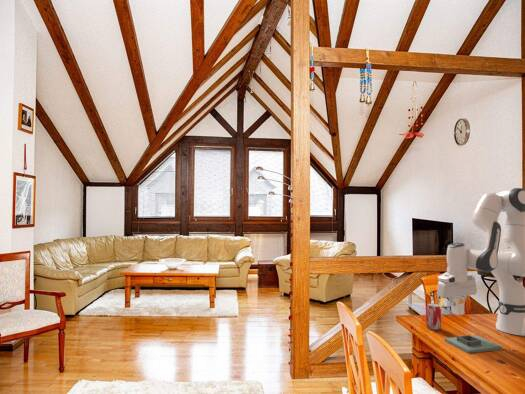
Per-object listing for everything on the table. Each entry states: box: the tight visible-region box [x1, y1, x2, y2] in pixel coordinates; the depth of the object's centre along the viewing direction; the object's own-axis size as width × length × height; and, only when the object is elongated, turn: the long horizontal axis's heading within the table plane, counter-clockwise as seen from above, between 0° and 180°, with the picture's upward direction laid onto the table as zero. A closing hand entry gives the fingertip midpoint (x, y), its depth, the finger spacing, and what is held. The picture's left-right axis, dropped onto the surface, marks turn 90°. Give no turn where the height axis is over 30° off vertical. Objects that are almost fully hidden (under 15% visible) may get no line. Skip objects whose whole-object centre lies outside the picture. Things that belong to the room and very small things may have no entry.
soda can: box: [425, 302, 442, 331], centre depth 189 cm, size 7×7×12 cm
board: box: [444, 334, 503, 354], centre depth 167 cm, size 18×14×3 cm
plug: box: [450, 296, 465, 316], centre depth 179 cm, size 4×4×8 cm
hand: (457, 304), depth 179 cm, fingers closed on plug, 4 cm apart
